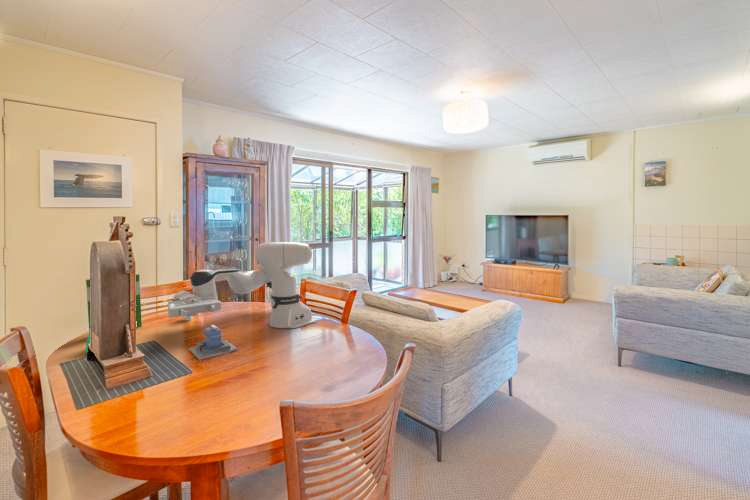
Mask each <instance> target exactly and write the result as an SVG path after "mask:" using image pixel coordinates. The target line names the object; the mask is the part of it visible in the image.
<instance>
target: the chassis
mask: <svg viewBox="0 0 750 500" xmlns="http://www.w3.org/2000/svg"><path fill="white" fill-rule="evenodd" d="M238 350H239V349H238V347H236V346H234V344H232V343H231V342H230V341H228V340H227V339H226V340H224V339H223V338H221V346H218V347H214V348H209V349H208V348H207V347H206V340H204V341H199V342H196V346H192V347H189V352H191V354H193V355H194V356H195V357H196V359H198V360H200V361H201V360H204V359H208V358H212V357H216V356H221V355H226V354H229V353H234V352H237V351H238Z"/></svg>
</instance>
